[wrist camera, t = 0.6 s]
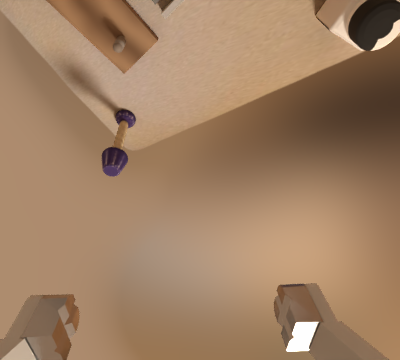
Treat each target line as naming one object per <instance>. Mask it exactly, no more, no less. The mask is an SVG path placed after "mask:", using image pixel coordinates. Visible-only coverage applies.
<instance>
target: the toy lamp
mask: <svg viewBox="0 0 400 360" xmlns="http://www.w3.org/2000/svg"><path fill="white" fill-rule="evenodd" d="M116 121H117V123H118V125H119V128H118V131H117V135H116V137H115V141H114V145H113V147H110V148H107V149H105V150H104V151H103V153H102V168H103V171H104V173H105V174H106V175H108V176H117V175H119V174H120V172H121V171H122V169H123V168H124V166H125V165H126V163H127V161H128V156H127V154H126V153H125V152H124V151H123V150H122V146H123V144H124V140H125V136H126V132H127V128H130V127H132V126H133V125H134V124H135V121H136V118H135V116H134V114H133V113H132V112H130V111H128V110H121V111H119V112H118V113H117V114H116Z"/></svg>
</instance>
